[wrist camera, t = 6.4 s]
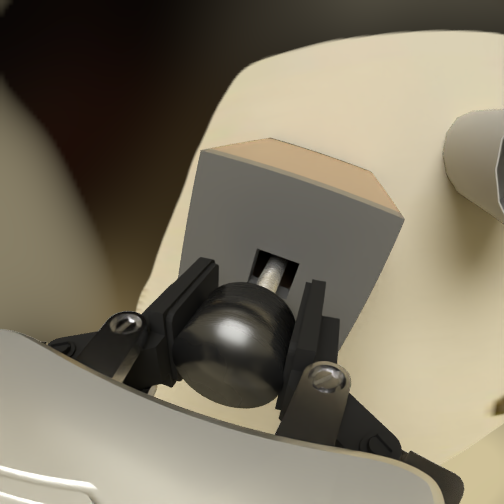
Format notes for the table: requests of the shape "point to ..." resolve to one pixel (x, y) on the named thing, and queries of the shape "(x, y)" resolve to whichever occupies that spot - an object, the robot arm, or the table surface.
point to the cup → (478, 159)
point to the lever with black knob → (238, 341)
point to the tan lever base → (292, 222)
